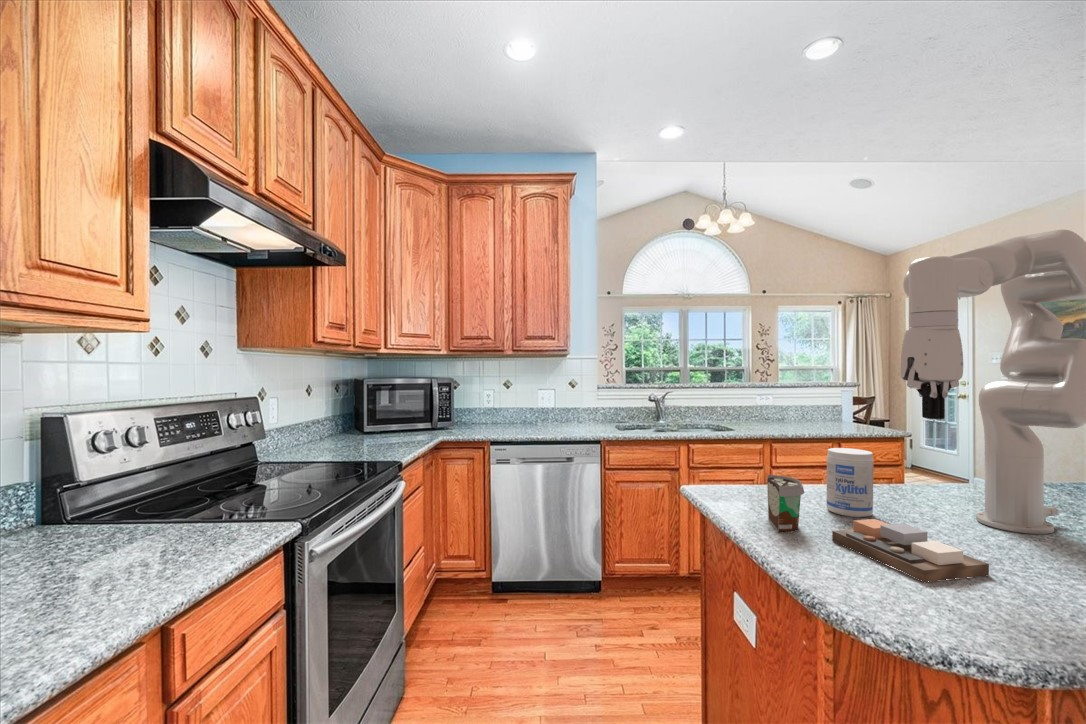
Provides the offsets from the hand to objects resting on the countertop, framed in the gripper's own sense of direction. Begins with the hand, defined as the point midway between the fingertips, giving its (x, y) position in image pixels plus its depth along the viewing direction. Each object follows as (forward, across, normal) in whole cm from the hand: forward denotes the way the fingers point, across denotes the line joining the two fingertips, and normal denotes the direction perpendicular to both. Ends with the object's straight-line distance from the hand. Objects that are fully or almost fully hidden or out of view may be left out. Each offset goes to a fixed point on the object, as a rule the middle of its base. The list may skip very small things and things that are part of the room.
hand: (933, 418), depth 99 cm
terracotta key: (+23, +9, -4) cm, 25 cm away
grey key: (+22, +9, +2) cm, 24 cm away
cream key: (+23, +9, +9) cm, 26 cm away
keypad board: (+25, +9, +2) cm, 27 cm away
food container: (+25, +18, -18) cm, 36 cm away
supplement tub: (+25, -3, -24) cm, 35 cm away
